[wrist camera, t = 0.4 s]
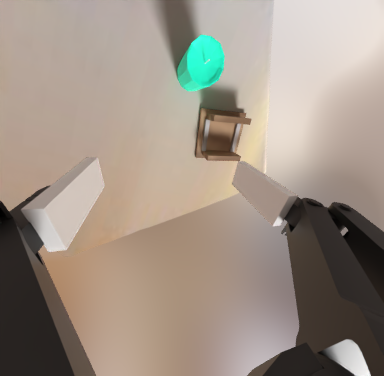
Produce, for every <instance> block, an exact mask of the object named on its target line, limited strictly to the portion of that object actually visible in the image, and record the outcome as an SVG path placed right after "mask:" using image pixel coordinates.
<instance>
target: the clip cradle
mask: <svg viewBox="0 0 384 376" xmlns="http://www.w3.org/2000/svg"><path fill="white" fill-rule="evenodd" d="M245 116H246V113H239V112H230V111H221V110H212V109H203V108H201V110H200V119H199V128H198V137H197V146H196V155H195V157H196V158H206V159H207V160H211V161H240V158H241V156H239V155H238V154H236V151H237V147H238V143H239V139H240V136H241V132H242V128H243V124H248V125H250V122H251V119H249V118H245Z"/></svg>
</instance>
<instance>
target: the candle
mask: <svg viewBox="0 0 384 376" xmlns="http://www.w3.org/2000/svg"><path fill="white" fill-rule="evenodd" d="M223 68H224V53H223V50H222V47H221V44H220V43H219V42H218V41H216V40H215V39H214V38H213V37H211V36H206V35H200V36H199V37H198V38H197V39H195V40H194V41H193V42H192V43H191V45H190V46H189V48H188V50H187V51H186V53H185V54H184V56H183V58H182V59H181V61H180V64H179V66H178V69H177V74H178V81H179V82H180V84H181V86H182V87H183V88H184V89H186V90H187V91H196V90H199V89H202V88H206V87H209V86H211V85H212V84H214V83H215V82H216V81H218V80H219V78H220V76H221V73H222V71H223Z"/></svg>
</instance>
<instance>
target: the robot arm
mask: <svg viewBox="0 0 384 376" xmlns="http://www.w3.org/2000/svg"><path fill="white" fill-rule="evenodd" d="M232 185H233V186H234V187H235V188H236V189H237V190H238V191H239V192H240V193H241V194H242V195H243V196H244V197H245V198H246V199H247V200H248V201H249V202H250V203H251V204H252V205H253V206H254V207H255V209H256V210H257V211H258V212H259V213H260V214H261V215H262V216H263V217H264V218H265V219H266V220H267V221H268V222H269V223H270V224H271V225H272V226H279V225H281V224H282V222H283V221H284V219H285V220H286V221H287V224H286V226H285V228H284V229H283V230H282V232H281V234H283V233H284V232H286V234H285V235H286V236H287V240H288V247H289V254H290V261H291V268H292V275H293V282H294V289H295V296H296V303H297V310H298V317H299V332H298V335H297V338H296V347H294V348H291V349H289V350H286V351H284V352H281V353H280V354H278V355H276V356H275V357H273V358H271V359H270V360H268V361H266V362H265V363H263V364H261V365H259V366H258V367H256V368H254V369H253V370H252V371H251V372H250V373H249V374H248V375H247V376H384V232H383V231H382V230H380V229H379V228H378V227H376V226H375V225H374V224H373V223H371V222H370V221H369V220H367V219H366V218H365V217H364V216H362V215H361V214H360V213H358V212H357V211H356V210H354V209H353V208H351V207H349V206H348V205H346V204H343V203H337V202H334V203H332V204H331V206H330V207H329V208H327V207H324V206H323V205H322V204H321V203H319V202H317V201H316V200H313V199H309V198H303V199H300V198H299V197H298V195H296V194H295V193H293V192H291V191H290V190H288V189H287V188H285V187H284V186H282V185H281V184H279V183H277V182H276V181H274V180H273V179H271V178H270V177H268V176H267V175H265V174H263V173H262V172H260V171H259V170H257V169H256V168H254V167H253V166H251V165H249V164H248V163H246V162H245V161H238V164H237V168H236V171H235V175H234V178H233V182H232ZM104 187H105V185H104V181H103V177H102V173H101V169H100V165H99V161H98V157H86V158H85V159H84V160H83V161H81V162H80V163H79V164H78V165H76V166H75V167H74V168H72V169H71V170H70V171H69V172H67V173H66V174H65V175H64V176H62V177H61V178H60V179H59V180H57V181H56V182H55V183H54V184H52V185H51V186H47V187H44V188H42V189H40V190H38V191H37V192H35V193H34V194H33V195H31V197H29V198H27V199H26V200H25V201H23V202H22V203H21V204H19V205H18V206H16V207H15V208H14V209H12V210H11V211H10V212H9V211H8V210H7V208H6V207H5V206H4V204H3V203H2V202H1V201H0V376H96V374H95V372H94V370H93V368H92V365H91V363H90V361H89V359H88V357H87V355H86V353H85V350H84V348H83V346H82V344H81V342H80V339H79V337H78V335H77V333H76V331H75V329H74V327H73V324H72V322H71V320H70V318H69V316H68V313H67V311H66V309H65V307H64V305H63V303H62V300H61V298H60V296H59V294H58V292H57V290H56V287H55V285H54V283H53V281H52V279H51V277H50V274H49V273H48V270H47V268H46V266H45V263H44V261H43V259H42V257H41V255H40V254H39V253H38V251H39V250H40V248H41V247H42V246H43V244H44V245H45V247H46V249H47V250H48V252H52V251H61V250H67V248H68V247H69V245H70V243H71V242H72V240H73V238H74V237H75V235H76V233H77V232H78V230H79V228H80V227H81V225H82V223H83V222H84V220H85V218H86V217H87V215H88V213H89V212H90V210H91V208H92V207H93V205H94V203H95V202H96V200H97V198H98V197H99V195H100V193H101V192H102V190H103V188H104ZM345 227H346V228H347V229H348V232H347V233H346V234H345V235H344V236H342V234H341V233H340V232H341V231H342V230H343V229H344V228H345Z"/></svg>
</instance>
